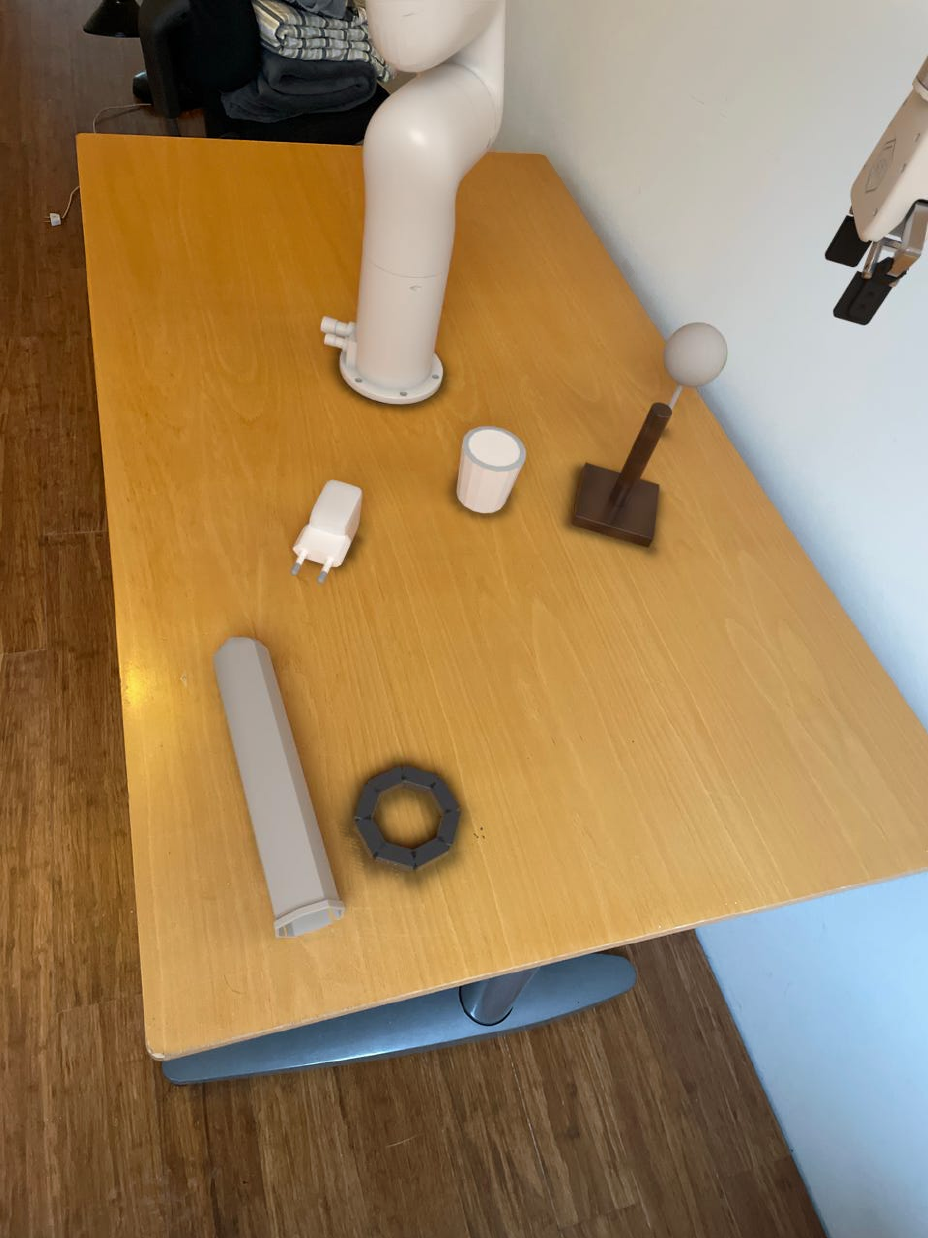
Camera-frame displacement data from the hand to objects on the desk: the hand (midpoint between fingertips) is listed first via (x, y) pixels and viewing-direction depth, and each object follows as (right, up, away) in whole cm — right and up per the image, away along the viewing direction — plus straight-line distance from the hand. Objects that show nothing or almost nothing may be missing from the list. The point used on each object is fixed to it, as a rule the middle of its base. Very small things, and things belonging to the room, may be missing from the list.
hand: (844, 289), depth 73 cm
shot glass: (-32, -16, +17) cm, 40 cm away
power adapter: (-48, -24, +8) cm, 54 cm away
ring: (-39, -46, -6) cm, 61 cm away
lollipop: (-10, -6, +30) cm, 32 cm away
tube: (-50, -43, -7) cm, 66 cm away
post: (-17, -17, +20) cm, 31 cm away
